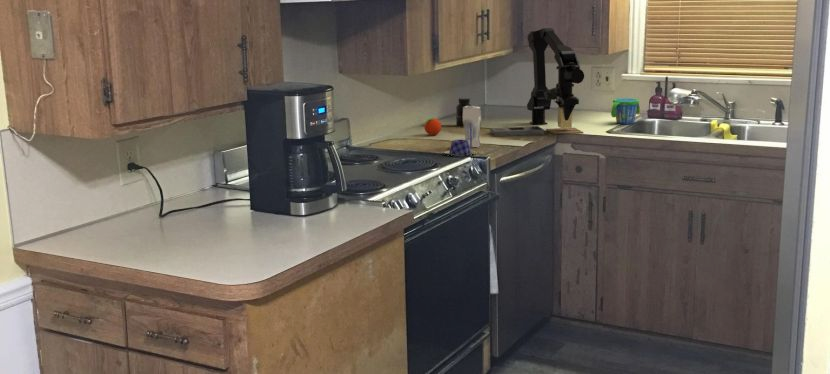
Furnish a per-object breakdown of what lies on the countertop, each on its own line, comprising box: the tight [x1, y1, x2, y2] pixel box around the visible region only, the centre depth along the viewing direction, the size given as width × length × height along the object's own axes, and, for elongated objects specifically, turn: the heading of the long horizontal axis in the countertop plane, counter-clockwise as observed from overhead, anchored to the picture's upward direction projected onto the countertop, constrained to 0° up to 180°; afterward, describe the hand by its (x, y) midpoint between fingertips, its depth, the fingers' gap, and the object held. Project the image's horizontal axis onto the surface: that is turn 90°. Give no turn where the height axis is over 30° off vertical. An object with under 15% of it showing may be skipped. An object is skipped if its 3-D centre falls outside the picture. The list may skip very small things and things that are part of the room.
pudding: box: [443, 139, 478, 155], centre depth 328 cm, size 12×12×5 cm
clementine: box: [424, 117, 442, 136], centre depth 370 cm, size 8×7×7 cm
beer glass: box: [462, 105, 482, 148], centre depth 342 cm, size 7×7×15 cm
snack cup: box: [610, 97, 641, 125], centre depth 389 cm, size 16×10×10 cm
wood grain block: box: [557, 106, 573, 128], centre depth 371 cm, size 4×4×8 cm
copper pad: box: [546, 127, 584, 136], centre depth 372 cm, size 12×12×1 cm
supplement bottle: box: [455, 97, 472, 127], centre depth 392 cm, size 7×7×12 cm
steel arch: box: [489, 125, 545, 138], centre depth 370 cm, size 10×20×2 cm, turn 97°
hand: (564, 119), depth 371 cm, fingers closed on wood grain block, 4 cm apart
